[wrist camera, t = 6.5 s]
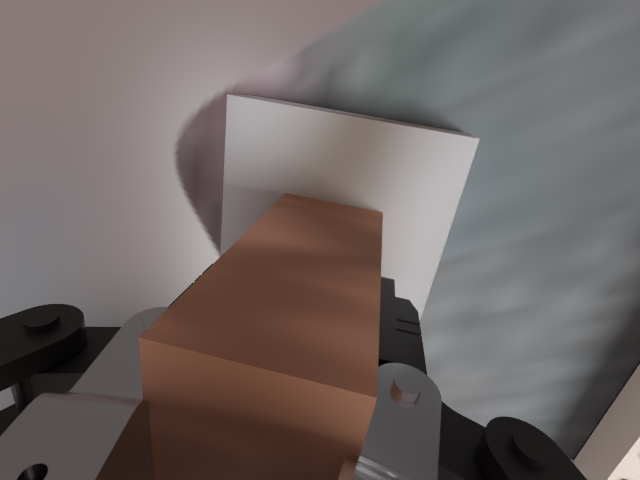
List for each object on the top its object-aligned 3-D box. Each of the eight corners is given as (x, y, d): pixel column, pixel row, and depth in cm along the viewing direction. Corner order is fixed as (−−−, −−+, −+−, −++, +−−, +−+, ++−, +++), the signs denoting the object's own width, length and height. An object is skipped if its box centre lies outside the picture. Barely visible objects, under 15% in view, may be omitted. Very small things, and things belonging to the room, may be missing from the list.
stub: (467, 133, 11) (684, 238, 3) (390, 379, 15) (394, 698, 7) (246, 94, 11) (-58, 96, 4) (231, 339, 15) (72, 590, 8)
